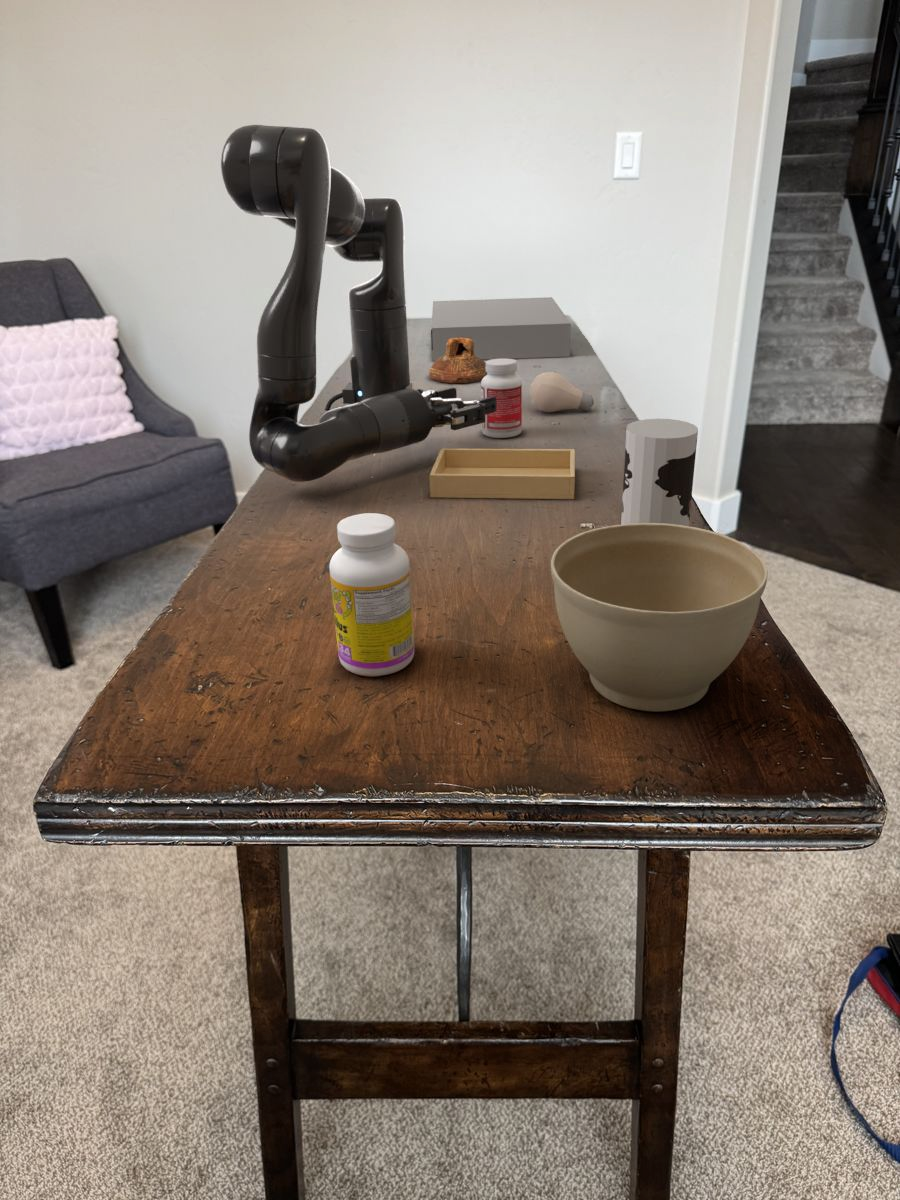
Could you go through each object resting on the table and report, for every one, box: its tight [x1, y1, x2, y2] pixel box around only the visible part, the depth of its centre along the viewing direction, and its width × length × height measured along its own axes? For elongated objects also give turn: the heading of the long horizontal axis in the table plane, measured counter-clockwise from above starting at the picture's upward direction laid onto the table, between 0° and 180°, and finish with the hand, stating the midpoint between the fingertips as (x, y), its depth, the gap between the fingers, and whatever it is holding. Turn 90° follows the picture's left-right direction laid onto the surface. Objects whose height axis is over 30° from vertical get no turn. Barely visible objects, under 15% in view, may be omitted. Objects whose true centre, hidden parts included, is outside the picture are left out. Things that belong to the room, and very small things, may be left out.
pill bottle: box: [480, 358, 523, 439], centre depth 135 cm, size 6×6×11 cm
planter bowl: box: [550, 523, 769, 713], centre depth 71 cm, size 16×16×11 cm
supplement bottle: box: [328, 512, 415, 677], centre depth 75 cm, size 7×7×13 cm
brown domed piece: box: [428, 338, 487, 384], centre depth 171 cm, size 12×12×7 cm
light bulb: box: [528, 371, 595, 413], centre depth 147 cm, size 7×7×11 cm
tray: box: [429, 447, 576, 500], centre depth 117 cm, size 18×11×3 cm, turn 83°
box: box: [430, 296, 572, 362], centre depth 200 cm, size 35×29×7 cm
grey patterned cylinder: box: [620, 418, 699, 527], centre depth 89 cm, size 7×7×15 cm
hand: (474, 398), depth 131 cm, fingers open, 8 cm apart
